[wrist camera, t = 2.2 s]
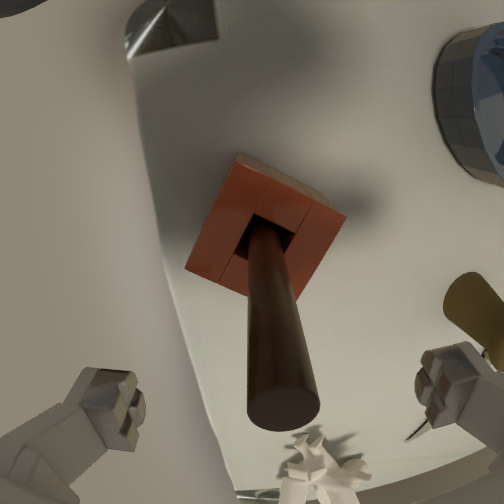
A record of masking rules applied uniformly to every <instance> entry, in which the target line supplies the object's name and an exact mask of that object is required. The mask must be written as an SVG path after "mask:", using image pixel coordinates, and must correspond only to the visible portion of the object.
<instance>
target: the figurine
mask: <svg viewBox="0 0 504 504" xmlns="http://www.w3.org/2000/svg"><path fill="white" fill-rule="evenodd" d="M308 436H309V434H304V435H302V436H301V437H300V438H299V439H298V440H297V441H296V442H295V443H294V444H293V446H294V447H295V448H296V449H297V450H299V451H300V452H301V453H302V454H303V457H304V460H303V464H302V465H300V464H294V463H290V462H287V467H286V468H285V469H283V471H287V472H288V475H289V476H287V477H283V478H282V485H281V490H280V497H279V503H278V504H305V503H306V499H307V493H308V487H309V485H312V484H313V486H314V491H315V494H316V496H317V498H318V500H319V502H320V504H359V501H358V499H357V497H356V493H355V489H356V488H357V487H358V486H360V482H368V481H369V480H370V479H371V477H372V474H367V473H365V470H366V468H367V463H366V462H365V461H364V460H361V459H350V460H347V461H346V462H345V463H344V464H343V465H342V466H341V468H340V467H339V466H338V465H337V463H336V461H335V460H334V459H333V457H332V456H331V455H330V454H329V453H328V452H327V451H326V450H325V449H324V447H323V446H322V442H323V439H324V437H325V435H321V436H319V437H318V438H317V440H316V441H314V442H312V443H311V444H307V443H306V439H307V437H308Z"/></svg>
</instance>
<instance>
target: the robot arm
mask: <svg viewBox="0 0 504 504" xmlns="http://www.w3.org/2000/svg"><path fill="white" fill-rule="evenodd" d="M420 362H421V364H422V366H423V367H422V368H421V369H420V371H419V372H418V373H417V375H416V378H415V393H416V397H417V399H418V401H419V403H421V404H422V405H424V406H426V411H425V415H426V417H427V419H428V421H429V423H430V425H431V427H432V429H435V428H439V427H442V426H446V425H449V424H452V423H456V422H457V423H456V424H457V425H459V426H460V427H462V428H463V429H464V430H466V431H467V432H469V433H470V434H471V435H473V436H474V437H476V438H477V439H478V440H480V441H481V442H483V443H484V444H485V445H487V446H488V447H490V448H491V449H492V450H494V451H495V452H497V454H496V456H495V457H494V458H493V460H492V461H491V462H490V464H489V466H488V468H489V470H490V473H488V474H486V475H484V476H482V477H480V478H477V479H475V480H473V481H471V482H468V483H466V484H464V485H461V486H459V487H457V488H454V489H451V490H449V491H446V492H444V493H441V494H439V495H436V496H433V497H430V498H427V499H424V500H421V501H418V502H415V503H412V504H504V373H501V372H499V371H497V372H494V371H493V369H492V368H491V367H490V366H489V365H488V363H487V362H486V361H485V360H484V358H483V357H482V356H481V355H480V354H479V352H478V351H477V350H476V349H475V348H474V347H473V345H472V344H471V343H470V342H467V341H465V342H461V343H457V344H453V345H450V346H446V347H441V348H437V349H432V350H427V351H425V352H424V354H423V355H422V358H421V361H420ZM137 384H138V380H137V378H136V375H135V373H134V372H131V371H122V370H111V369H98V368H90V367H86V368H85V369H83V370H82V372H81V373H80V375H79V377H78V378H77V380H76V382H75V383H74V385H73V387H72V388H71V390H70V392H69V394H68V395H67V397H66V399H65V401H64V402H63V404H62V403H58V404H56V405H54V406H53V407H51V408H49V409H48V410H46V411H44V412H43V413H41V414H39V415H38V416H36V417H34V418H33V419H31V420H29V421H28V422H26V423H24V424H23V425H21V426H19V427H17V428H16V429H14V430H12V431H11V432H9V433H7V434H5V435H4V436H2V437H1V438H0V504H79V503H80V499H79V497H78V496H77V495H76V494H75V493H74V492H73V491H72V490H71V489H70V488H69V485H70V484H71V483H72V482H74V481H75V480H76V479H77V478H78V477H79V476H80V475H81V474H82V473H84V472H85V471H86V470H87V469H88V468H89V467H90V466H91V465H92V464H93V463H94V462H96V460H98V459H99V458H100V457H101V456H102V455H103V454H104V453H105V452H106V451H107V449H114V450H121V451H129V452H134V451H135V448H136V444H137V441H138V438H139V432H138V430H137V427H139V426H140V425H141V424H143V422H144V419H145V412H146V404H145V399H144V396H143V393H142V392H141V391H140V390H138V389H137V388H136V386H137Z"/></svg>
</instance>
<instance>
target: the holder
mask: <svg viewBox="0 0 504 504" xmlns="http://www.w3.org/2000/svg"><path fill="white" fill-rule="evenodd" d="M254 213H255V214H256V215H259V216H261V217H263V218H265V219H267V220H269V221H271V222H273V223H275V224H276V227H277V231H278V235H279V239H280V242H281V246H282V250H283V254H284V257H285V261H286V265H287V269H288V273H289V277H290V281H291V284H292V288H293V292H294V296H295V300H296V301H297V299H298V298H299V296H300V294H301V293H302V291H303V290H304V288H305V286H306V285H307V283H308V282H309V280H310V278H311V277H312V275H313V274H314V272H315V270H316V269H317V267H318V265H319V264H320V262H321V260H322V259H323V257H324V255H325V254H326V252H327V250H328V249H329V247H330V245H331V244H332V242H333V240H334V239H335V237H336V235H337V233H338V232H339V230H340V228H341V227H342V225H343V223H344V221H345V220H346V216H345V215H344V214H343V213H342V212H340V211H339V210H338V209H337V208H336V207H335V206H334V205H333V204H332V203H331V202H330V201H329V200H328V199H327V198H325V197H324V196H323V195H322V194H321V193H320V192H319V191H317V190H316V189H314V188H312V187H310V186H308V185H306V184H304V183H302V182H301V181H299V180H297V179H295V178H293V177H291V176H289V175H287V174H285V173H283V172H281V171H279V170H277V169H275V168H273V167H271V166H269V165H267V164H265V163H263V162H261V161H259V160H257V159H255V158H253V157H251V156H249V155H247V154H245V153H243V152H241V151H240V152H239V153H238V155H237V157H236V159H235V161H234V163H233V165H232V167H231V169H230V171H229V173H228V175H227V177H226V180H225V182H224V184H223V186H222V188H221V190H220V192H219V194H218V196H217V198H216V200H215V202H214V204H213V207H212V209H211V211H210V213H209V215H208V217H207V219H206V221H205V224H204V226H203V228H202V230H201V232H200V234H199V237H198V239H197V241H196V243H195V245H194V248H193V250H192V252H191V254H190V256H189V259H188V261H187V263H186V265H185V269H186V270H188V271H190V272H192V273H194V274H197V275H199V276H201V277H203V278H206V279H208V280H210V281H212V282H215V283H217V284H219V285H222V286H224V287H226V288H228V289H231V290H233V291H235V292H238V293H240V294H242V295H245V296H247V297H248V224H249V222H250V220H251V218H252V216H253V214H254Z"/></svg>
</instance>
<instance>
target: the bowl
mask: <svg viewBox="0 0 504 504" xmlns="http://www.w3.org/2000/svg"><path fill="white" fill-rule="evenodd" d="M435 94H436V101H437V109H438V117H439V120H440V123H441V126H442V128H443V131H444V134H445V137H446V140H447V143H448V145H449V146H450V148H451V149H452V151H453V152H454V154H455V156H456V157H457V159H458V161H459V162H460V164H461V165H462V166H463V167H464V168H465V169H466V170H468V171H469V172H470V173H471V174H472V175H473V176H474V177H475V178H476V179H479V180H482V181H484V182H487V183H489V184H492V185H495V186H498V187H500V188H503V189H504V22H500V23H494V24H490V25H487V26H483V27H480V28H477V29H474V30H471V31H468V32H465V33H462V34H459V35H457V36H456V37H455V38H454V39H453V40H452V41H451V42H450V43H449V44H447V45H446V47H445V49H444V51H443V53H442V56H441V58H440V60H439V63H438V66H437V75H436V85H435Z"/></svg>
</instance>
